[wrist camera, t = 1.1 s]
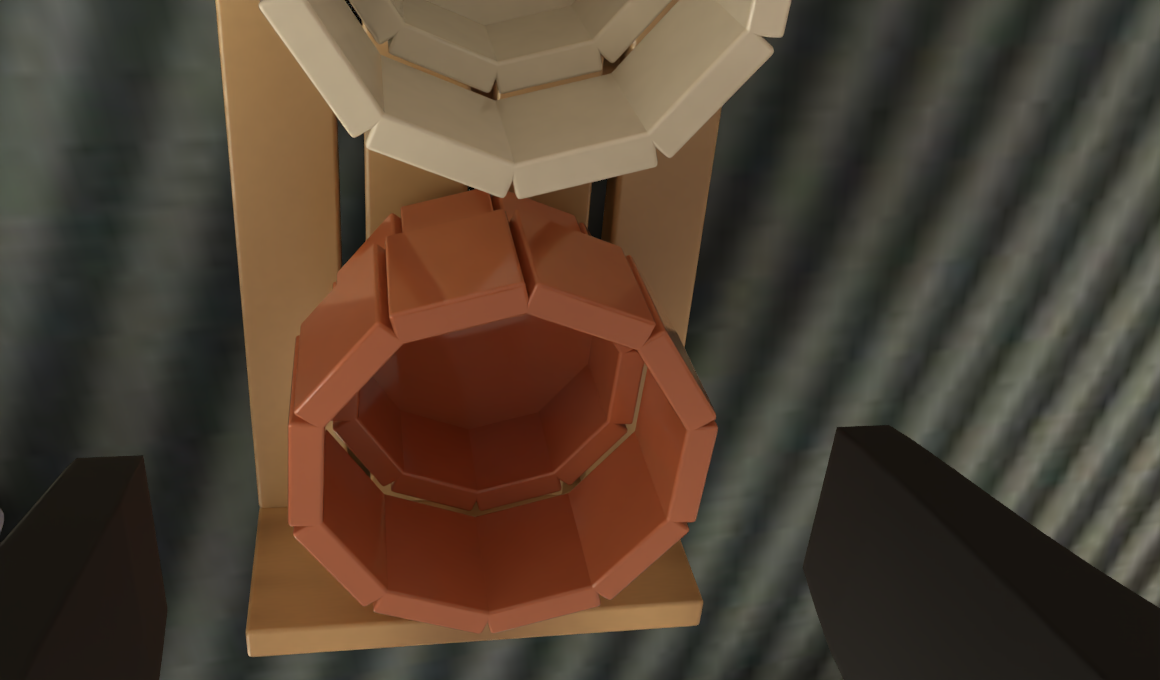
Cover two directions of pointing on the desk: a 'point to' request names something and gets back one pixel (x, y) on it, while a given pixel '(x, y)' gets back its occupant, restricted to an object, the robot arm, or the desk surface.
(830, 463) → the robot arm
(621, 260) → the terracotta bowl
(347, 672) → the desk surface
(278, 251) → the bowl rack
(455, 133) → the cream bowl
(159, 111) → the desk surface
